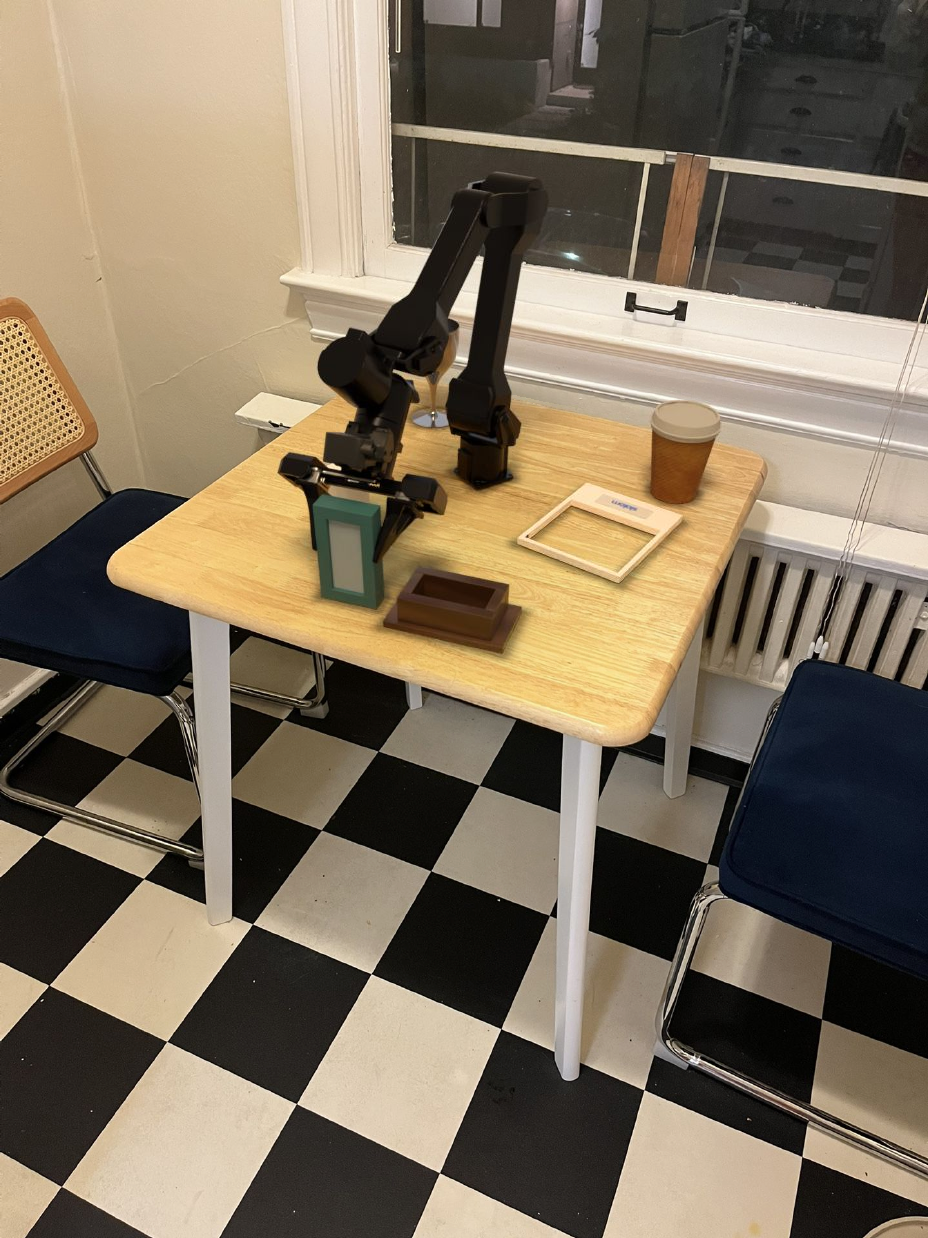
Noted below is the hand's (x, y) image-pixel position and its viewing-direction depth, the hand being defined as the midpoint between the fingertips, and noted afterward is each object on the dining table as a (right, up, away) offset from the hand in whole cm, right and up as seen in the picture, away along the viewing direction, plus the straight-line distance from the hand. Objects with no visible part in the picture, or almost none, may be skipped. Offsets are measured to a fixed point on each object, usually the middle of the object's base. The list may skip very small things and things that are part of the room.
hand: (344, 556), depth 101 cm
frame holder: (+12, -7, +2) cm, 14 cm away
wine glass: (+8, +25, +44) cm, 51 cm away
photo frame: (+31, +4, +17) cm, 36 cm away
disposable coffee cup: (+43, +11, +26) cm, 51 cm away
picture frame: (0, -4, +5) cm, 7 cm away
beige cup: (-2, +6, +19) cm, 21 cm away
